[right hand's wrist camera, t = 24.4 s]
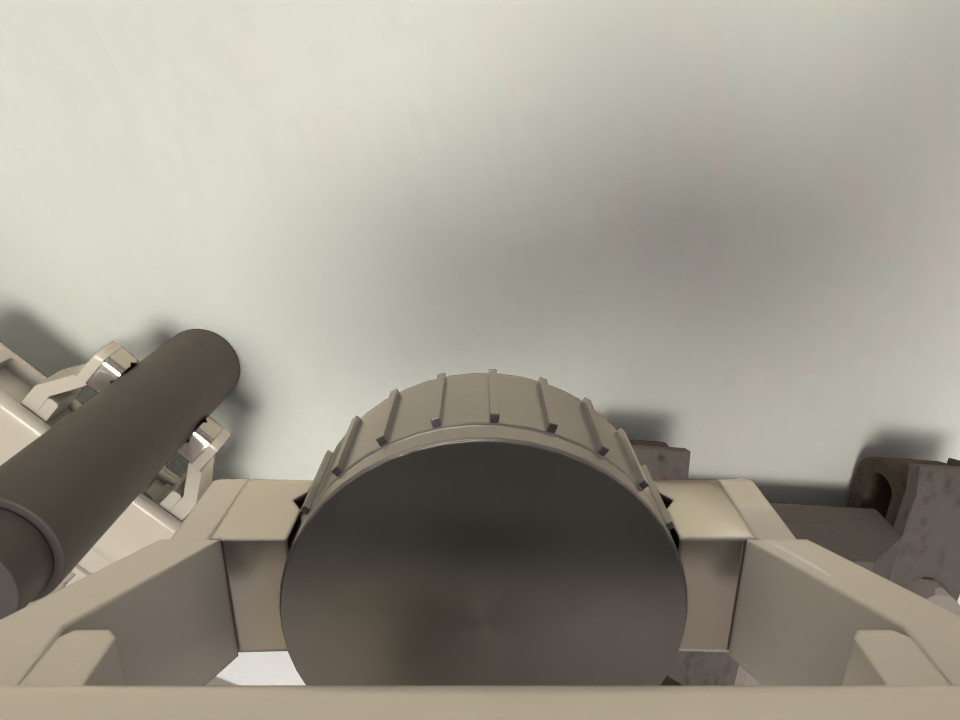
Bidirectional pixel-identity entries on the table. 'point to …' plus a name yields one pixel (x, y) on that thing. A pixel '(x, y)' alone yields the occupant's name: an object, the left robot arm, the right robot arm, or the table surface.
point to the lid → (483, 547)
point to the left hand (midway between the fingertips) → (169, 392)
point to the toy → (852, 537)
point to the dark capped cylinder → (102, 461)
